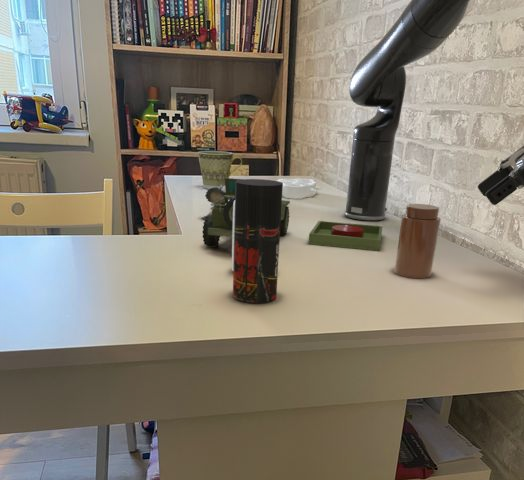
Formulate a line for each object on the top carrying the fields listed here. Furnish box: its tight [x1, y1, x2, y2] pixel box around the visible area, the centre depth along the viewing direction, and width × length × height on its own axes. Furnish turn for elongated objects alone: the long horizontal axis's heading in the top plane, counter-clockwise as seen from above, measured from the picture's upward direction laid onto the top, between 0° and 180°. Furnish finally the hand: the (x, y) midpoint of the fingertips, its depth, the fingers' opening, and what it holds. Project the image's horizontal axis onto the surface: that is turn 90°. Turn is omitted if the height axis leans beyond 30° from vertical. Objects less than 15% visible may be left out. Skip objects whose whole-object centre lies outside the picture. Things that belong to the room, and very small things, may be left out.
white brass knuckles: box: [276, 178, 322, 200], centre depth 161 cm, size 3×18×15 cm
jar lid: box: [331, 225, 364, 238], centre depth 109 cm, size 6×6×2 cm
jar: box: [394, 203, 442, 279], centre depth 88 cm, size 6×6×11 cm
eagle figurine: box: [200, 187, 226, 220], centre depth 122 cm, size 8×7×9 cm
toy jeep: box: [202, 177, 291, 248], centre depth 103 cm, size 12×25×11 cm, turn 168°
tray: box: [308, 220, 384, 252], centre depth 110 cm, size 13×13×2 cm
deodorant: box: [232, 178, 283, 304], centre depth 73 cm, size 6×6×15 cm
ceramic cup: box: [197, 150, 244, 190], centre depth 163 cm, size 13×10×10 cm
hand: (484, 195), depth 83 cm, fingers open, 8 cm apart
